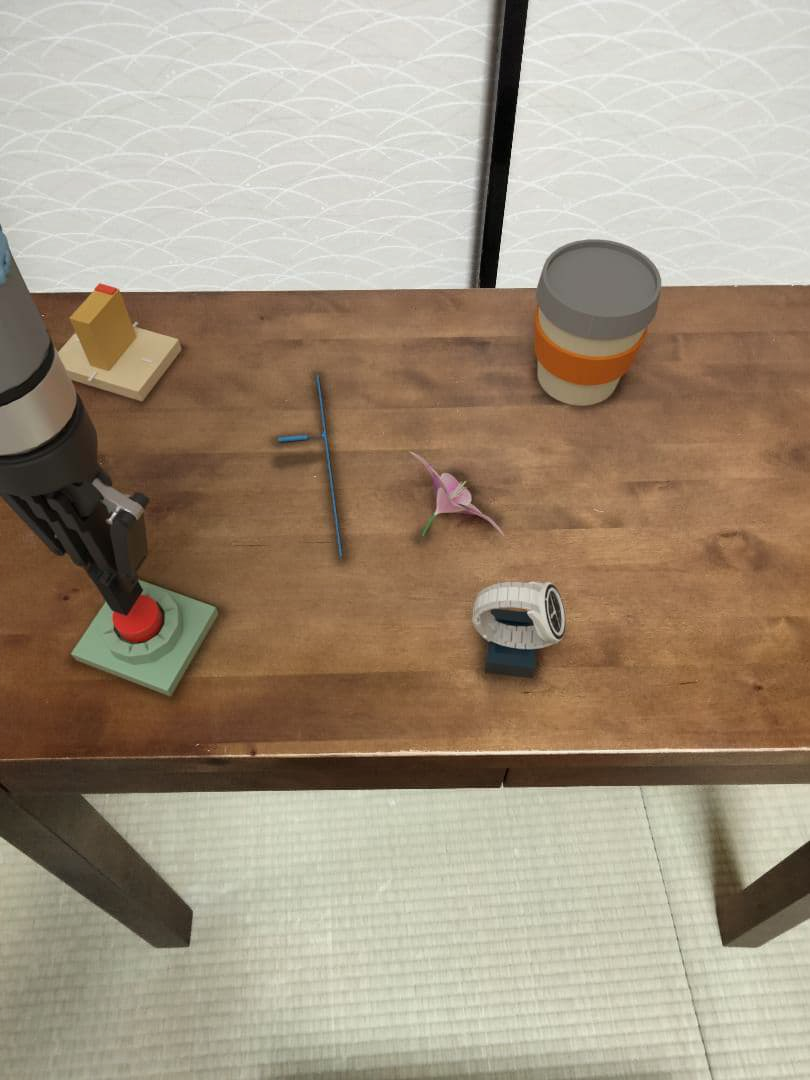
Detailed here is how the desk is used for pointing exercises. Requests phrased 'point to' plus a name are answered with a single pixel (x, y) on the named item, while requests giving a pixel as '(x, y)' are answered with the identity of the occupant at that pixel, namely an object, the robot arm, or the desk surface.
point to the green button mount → (149, 642)
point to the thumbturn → (103, 326)
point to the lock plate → (124, 364)
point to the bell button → (139, 620)
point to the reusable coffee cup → (592, 317)
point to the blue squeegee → (304, 437)
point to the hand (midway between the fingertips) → (127, 600)
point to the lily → (451, 496)
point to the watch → (518, 625)
